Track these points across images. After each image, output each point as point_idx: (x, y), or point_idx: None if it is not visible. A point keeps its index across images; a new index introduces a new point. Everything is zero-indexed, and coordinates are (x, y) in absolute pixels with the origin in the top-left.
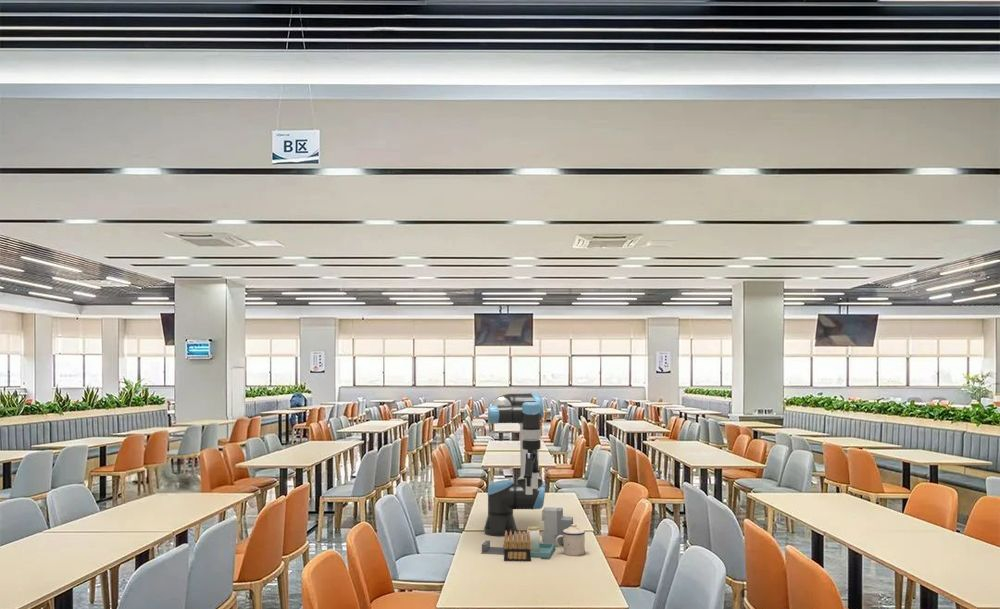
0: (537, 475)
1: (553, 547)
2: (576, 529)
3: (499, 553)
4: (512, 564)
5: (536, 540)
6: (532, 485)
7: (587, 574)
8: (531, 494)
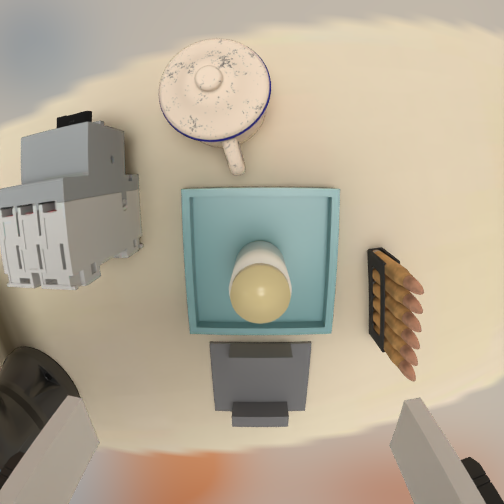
0: (17, 492)
1: (226, 188)
2: (237, 65)
3: (295, 366)
4: None
5: (281, 258)
6: (85, 453)
7: (465, 68)
8: (419, 403)
